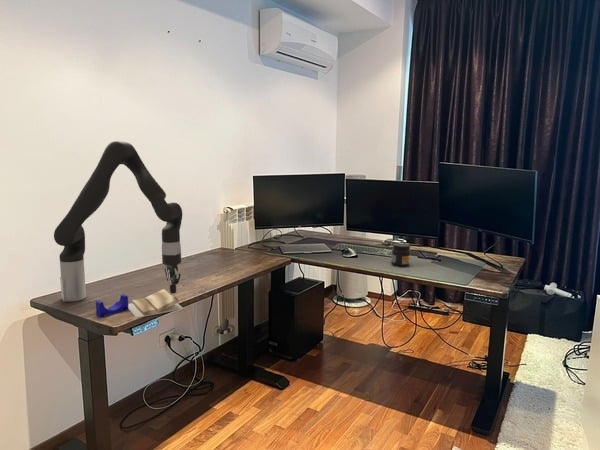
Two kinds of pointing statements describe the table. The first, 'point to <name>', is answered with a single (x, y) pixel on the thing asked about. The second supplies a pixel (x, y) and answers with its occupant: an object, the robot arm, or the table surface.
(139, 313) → the plate
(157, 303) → the click plank
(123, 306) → the blue cradle holder
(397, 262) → the supplement container
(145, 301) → the laid plank
